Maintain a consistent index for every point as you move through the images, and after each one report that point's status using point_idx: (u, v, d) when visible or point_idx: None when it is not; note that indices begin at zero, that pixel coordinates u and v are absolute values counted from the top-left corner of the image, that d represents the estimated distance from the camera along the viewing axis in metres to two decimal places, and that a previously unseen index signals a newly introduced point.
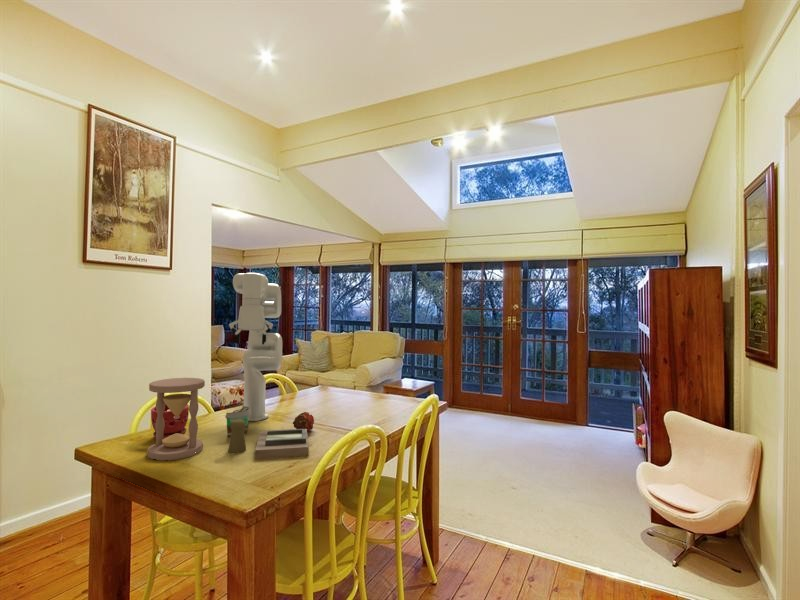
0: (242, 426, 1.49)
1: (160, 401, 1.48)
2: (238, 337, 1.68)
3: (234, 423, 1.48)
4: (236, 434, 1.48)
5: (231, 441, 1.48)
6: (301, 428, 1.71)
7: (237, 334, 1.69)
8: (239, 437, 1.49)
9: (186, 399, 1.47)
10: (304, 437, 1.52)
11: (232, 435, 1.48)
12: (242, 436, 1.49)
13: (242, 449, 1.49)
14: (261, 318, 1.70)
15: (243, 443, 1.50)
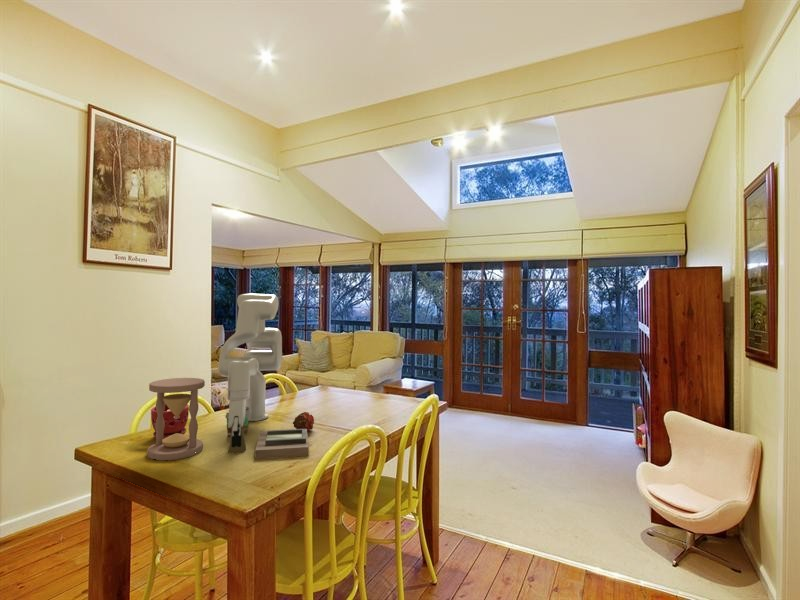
0: (242, 426, 1.49)
1: (160, 401, 1.48)
2: None
3: None
4: None
5: (231, 441, 1.48)
6: (301, 428, 1.71)
7: None
8: None
9: (186, 399, 1.47)
10: (304, 437, 1.52)
11: None
12: (242, 436, 1.49)
13: (242, 449, 1.49)
14: None
15: (243, 443, 1.50)
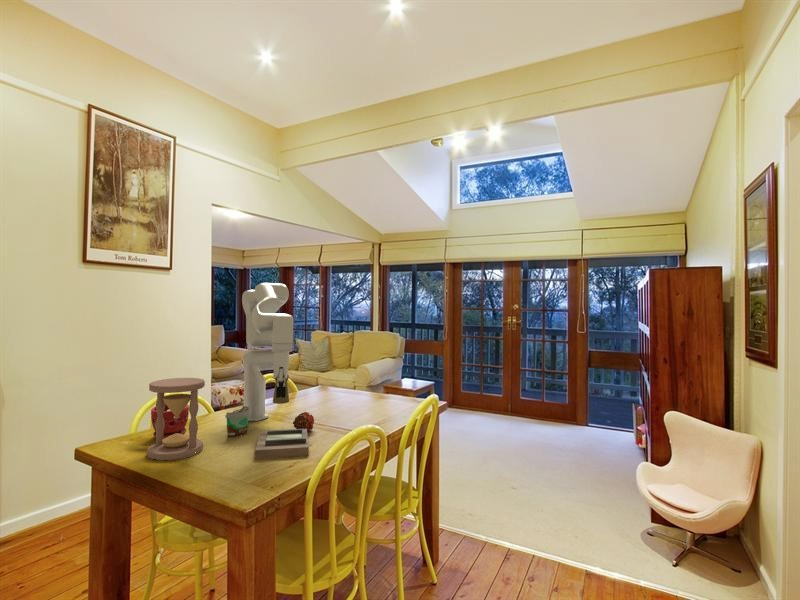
0: (286, 378, 1.54)
1: (160, 401, 1.48)
2: (285, 389, 1.53)
3: None
4: None
5: None
6: (301, 428, 1.71)
7: None
8: None
9: (186, 399, 1.47)
10: (304, 437, 1.52)
11: (276, 386, 1.53)
12: (286, 388, 1.54)
13: (286, 400, 1.54)
14: None
15: (287, 394, 1.54)
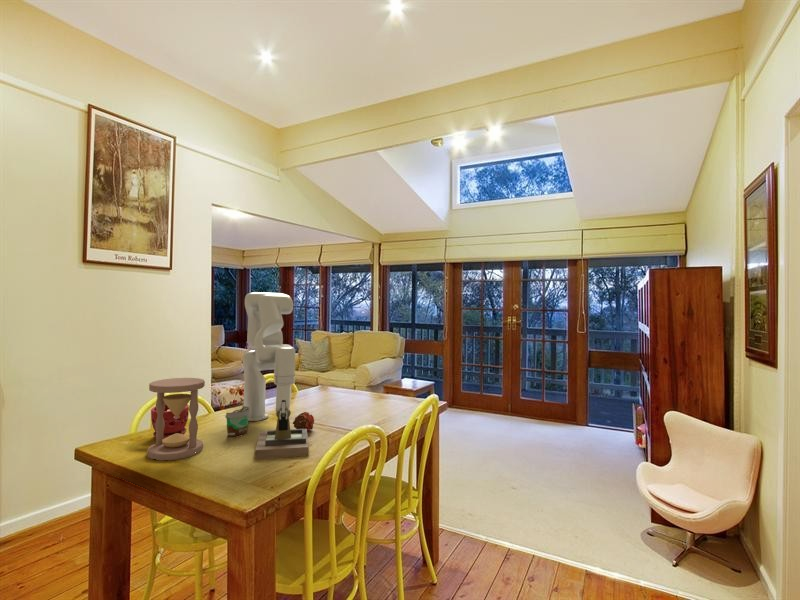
0: (288, 414, 1.54)
1: (160, 401, 1.48)
2: (287, 421, 1.53)
3: None
4: None
5: (277, 428, 1.53)
6: (301, 428, 1.71)
7: None
8: None
9: (186, 399, 1.47)
10: (304, 437, 1.52)
11: (278, 423, 1.54)
12: (288, 424, 1.55)
13: (288, 436, 1.54)
14: None
15: (289, 430, 1.55)
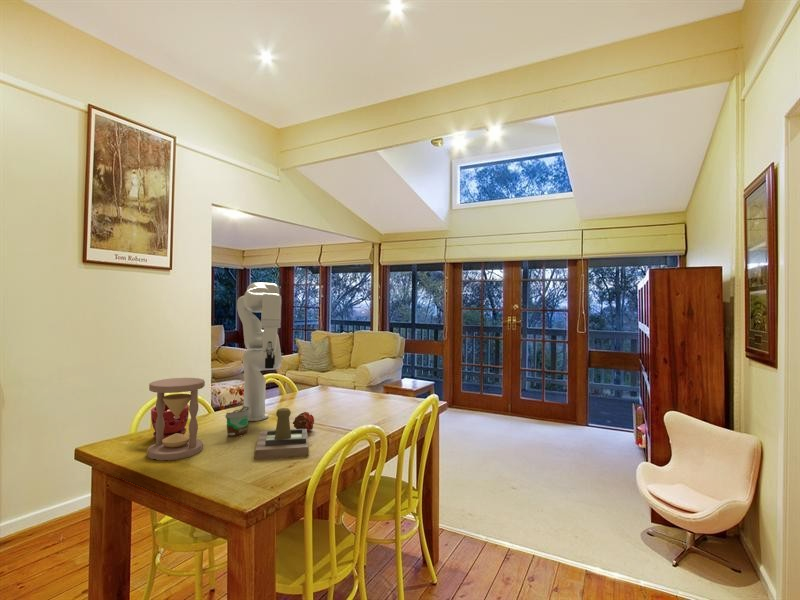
0: (288, 414, 1.54)
1: (160, 401, 1.48)
2: (273, 360, 1.63)
3: (280, 411, 1.54)
4: (283, 422, 1.54)
5: (278, 428, 1.54)
6: (301, 428, 1.71)
7: None
8: (285, 425, 1.54)
9: (186, 399, 1.47)
10: (304, 437, 1.52)
11: (278, 423, 1.54)
12: (288, 424, 1.55)
13: (288, 436, 1.54)
14: None
15: (289, 430, 1.55)
